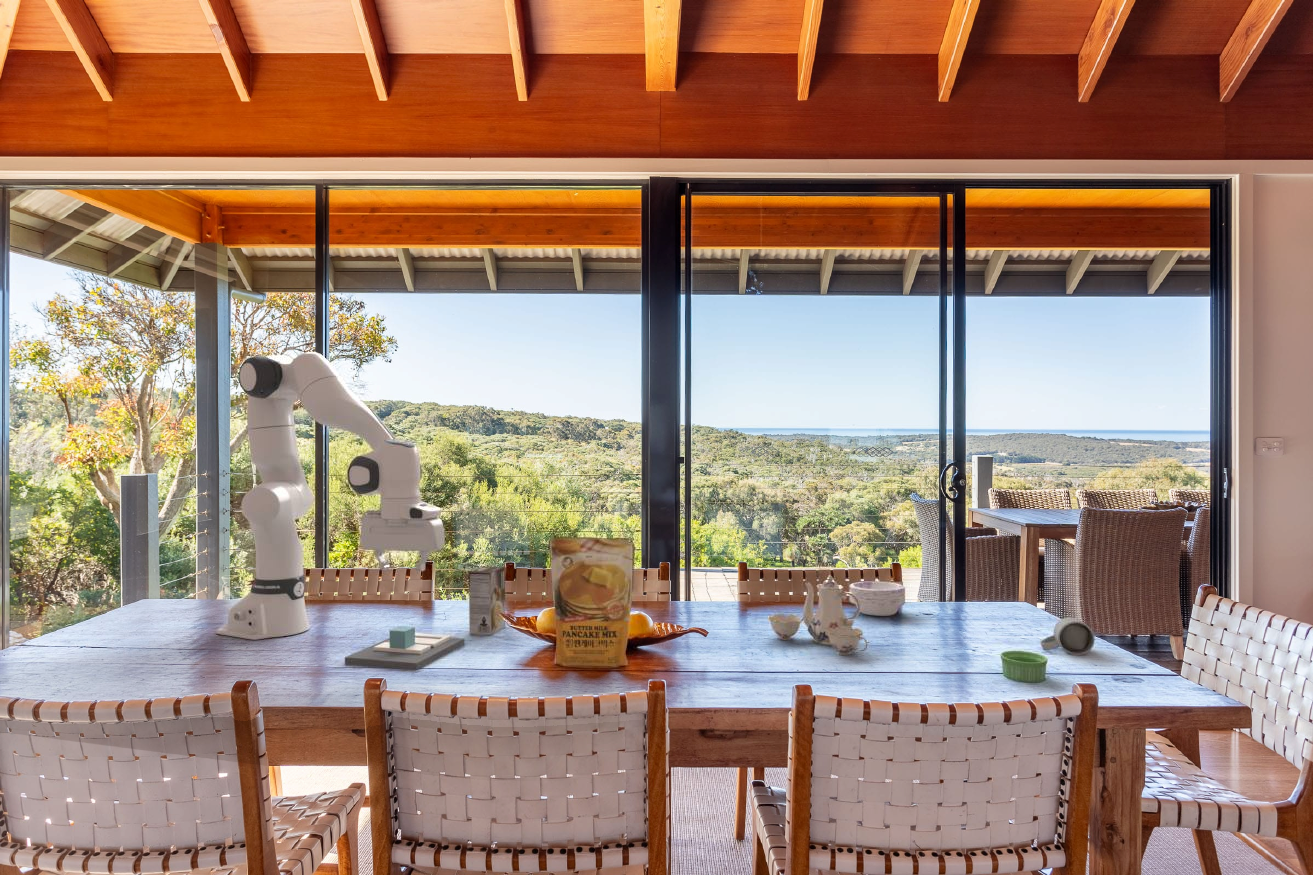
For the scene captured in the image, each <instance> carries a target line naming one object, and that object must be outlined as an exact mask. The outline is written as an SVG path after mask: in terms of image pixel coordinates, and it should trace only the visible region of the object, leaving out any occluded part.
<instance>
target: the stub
mask: <svg viewBox="0 0 1313 875" xmlns="http://www.w3.org/2000/svg"><path fill="white" fill-rule="evenodd" d="M415 633H416V628H415V627H413V626H403V625H402V626H396V627H394V628H393V629H389V638H390V642H384V643H382V644H379V645H377V646H375V647H374V650H375V651H388V652H400V653H413V654H422V653H424V652H426V651H428V650H430V649H431V645H418V644H415Z"/></svg>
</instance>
